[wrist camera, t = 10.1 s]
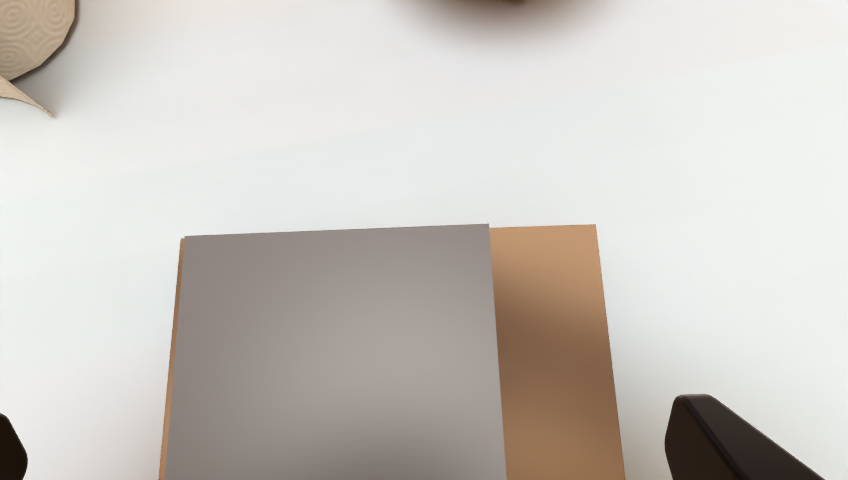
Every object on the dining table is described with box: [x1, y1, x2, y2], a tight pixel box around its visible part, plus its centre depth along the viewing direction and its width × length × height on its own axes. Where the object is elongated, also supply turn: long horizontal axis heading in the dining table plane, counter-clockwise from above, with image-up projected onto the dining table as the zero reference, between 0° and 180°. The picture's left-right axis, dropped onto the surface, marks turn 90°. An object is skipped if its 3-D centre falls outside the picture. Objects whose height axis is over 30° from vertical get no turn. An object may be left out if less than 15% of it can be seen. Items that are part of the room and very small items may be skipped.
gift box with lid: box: [165, 224, 507, 480], centre depth 12 cm, size 5×5×9 cm
